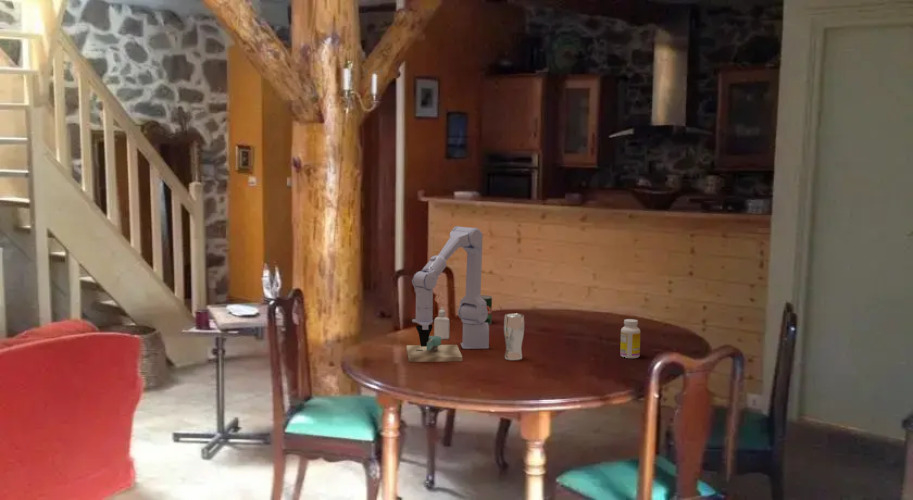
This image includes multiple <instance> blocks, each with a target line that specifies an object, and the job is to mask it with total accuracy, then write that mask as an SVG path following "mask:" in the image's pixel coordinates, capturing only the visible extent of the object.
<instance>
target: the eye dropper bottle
mask: <svg viewBox="0 0 913 500" xmlns="http://www.w3.org/2000/svg"><path fill="white" fill-rule="evenodd" d="M433 325H434V326H433V327H434V328H433V333H434V334H433V336H440V337H441V340H449V339H450V318H449V317H448V316H446V310H444V307H443V306H441V307H440V309H439V310H438V316H436V317H434V319H433Z"/></svg>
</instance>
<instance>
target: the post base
mask: <svg viewBox="0 0 913 500" xmlns="http://www.w3.org/2000/svg"><path fill="white" fill-rule="evenodd" d="M406 353H407V359H408V362H409V363H422V362H423V363H425V362H426V363H427V362H428V363H429V362H430V363H431V362H432V363H433V362H438V363H439V362H440V363H441V362H463V355H462V353H461V351H460V348H459V347H458V344H441V345H439V346H433V347H432V348H431V349H430V350H427V347H421V344H418V345H417V344H415V345H413V344H412V345H410V344H409V345H408V344H407V345H406Z"/></svg>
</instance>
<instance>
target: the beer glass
mask: <svg viewBox="0 0 913 500" xmlns="http://www.w3.org/2000/svg"><path fill="white" fill-rule="evenodd" d="M503 318H504V320H503V335H504V342H505V353H504V359H505V360H506V361H507V360H508V361H521V360H522V359H523V354H522V353H523V352H522V345H523V340H524V335H525V333H524V332H525V315H524V314H522V313H505V314H504V317H503Z"/></svg>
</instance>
